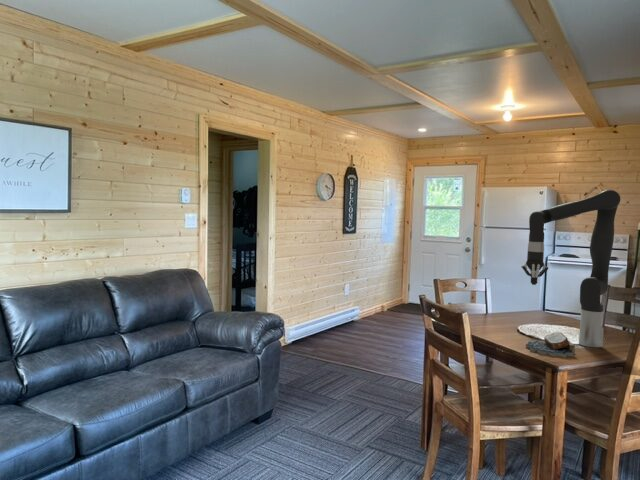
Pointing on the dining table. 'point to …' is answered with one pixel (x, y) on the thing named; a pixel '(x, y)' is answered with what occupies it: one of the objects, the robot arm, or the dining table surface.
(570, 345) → the walnut stop strip
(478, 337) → the dining table surface
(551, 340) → the tin
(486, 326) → the dining table surface
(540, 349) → the decorative tile
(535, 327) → the dining table surface
